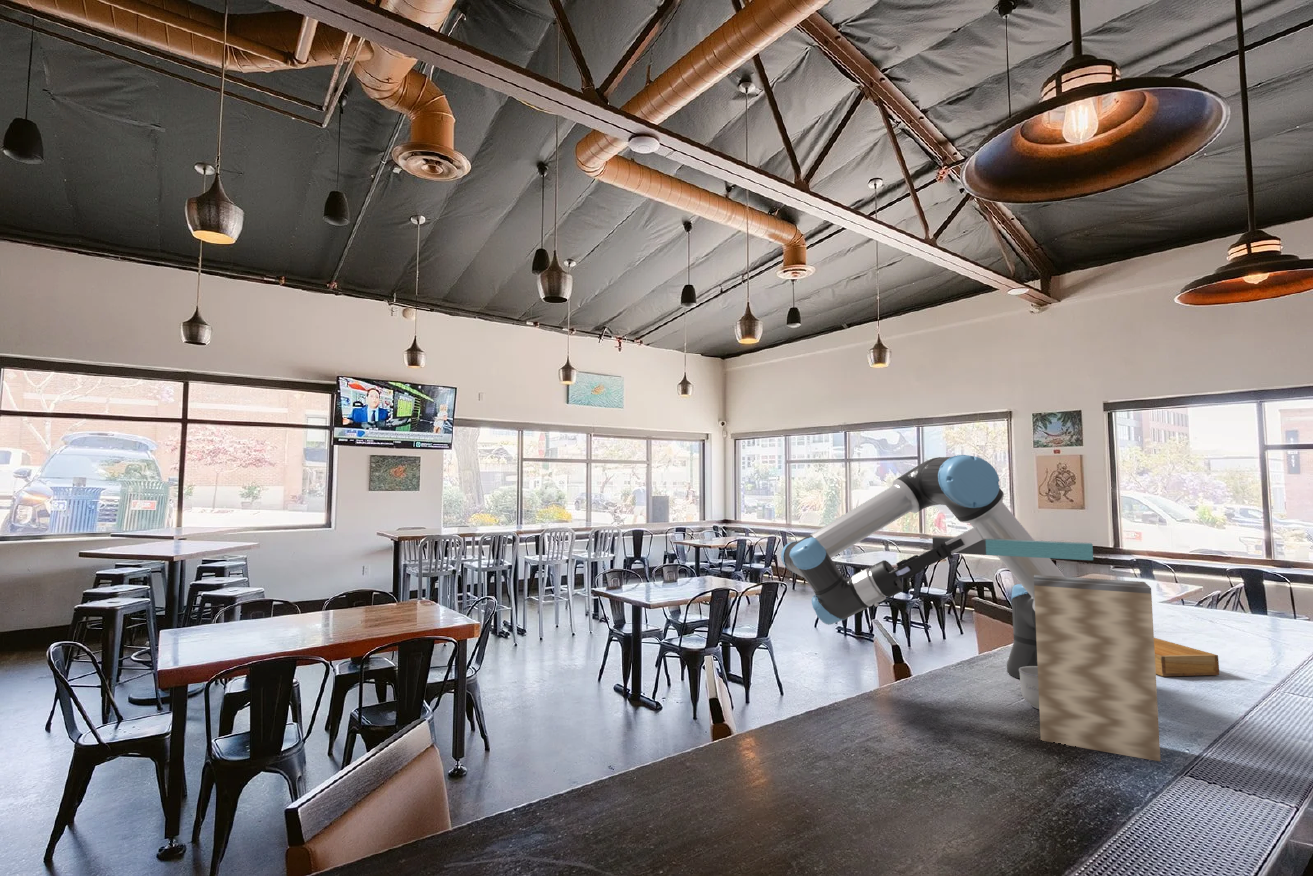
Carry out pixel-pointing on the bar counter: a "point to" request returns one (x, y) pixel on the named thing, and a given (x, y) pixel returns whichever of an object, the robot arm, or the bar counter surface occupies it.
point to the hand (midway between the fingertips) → (978, 533)
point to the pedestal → (1097, 665)
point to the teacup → (1030, 685)
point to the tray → (1183, 660)
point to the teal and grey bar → (1025, 548)
